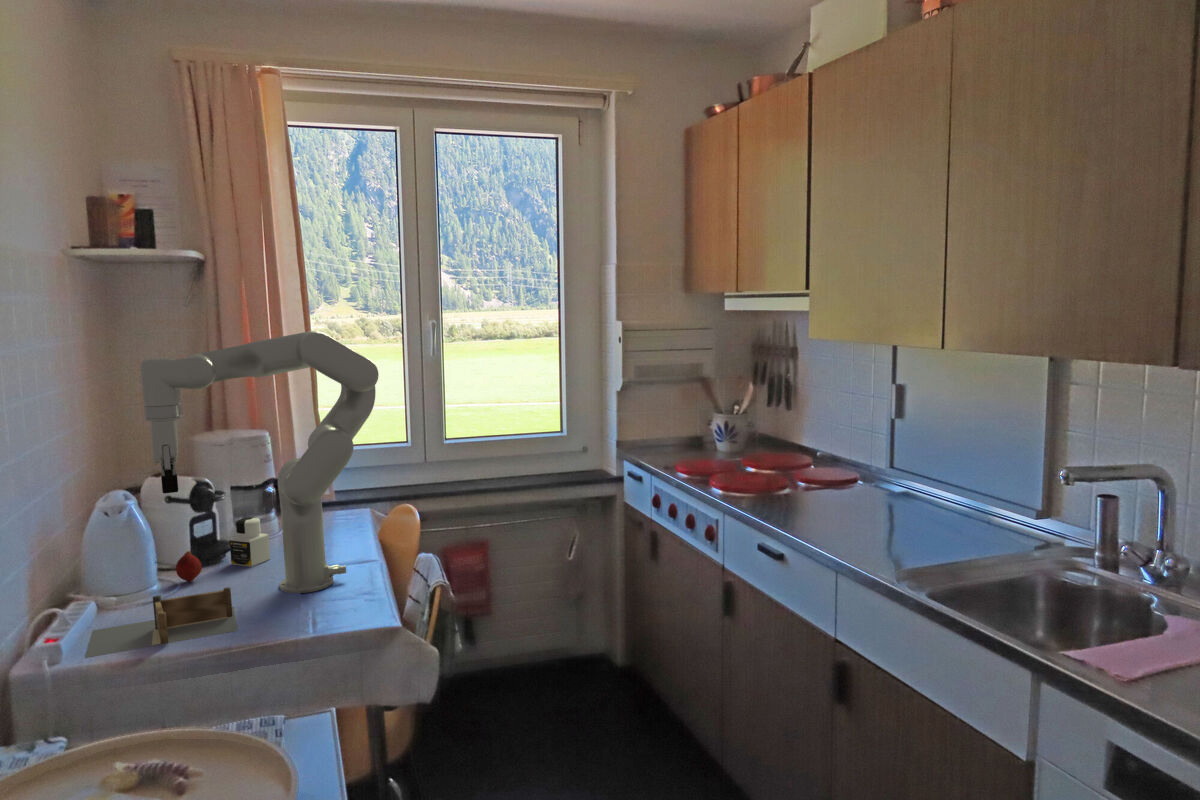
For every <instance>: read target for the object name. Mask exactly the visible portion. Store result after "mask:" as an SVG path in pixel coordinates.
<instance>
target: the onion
mask: <svg viewBox="0 0 1200 800" xmlns="http://www.w3.org/2000/svg"><path fill="white" fill-rule="evenodd" d="M175 571H176V575H177V577H179V578H180V579H181V580H183V581H185V582H188V583H191V582H193V581H194V579H196V578H197V577H198V576H199V575H200V574H201V572H202V562H201V560H200V559H199V558H198V557H197V556H196V555H193V554H192V552H191V551H190V550H187V551H185V553H184V555H182V556H181V557H180V558H179V560H178V561H177V563H176V565H175Z"/></svg>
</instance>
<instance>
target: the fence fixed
mask: <svg viewBox="0 0 1200 800" xmlns="http://www.w3.org/2000/svg"><path fill="white" fill-rule="evenodd" d="M155 602H161V605H162V608H163V612H165V613H166V621H167V627H172V626H178V625H184V624H190V623H195V622H201V621H207V620H213V619H219V618H225V617H232V616H233V613H232V607H233V604H232V591H231V587H228V586H227V587H224V588H223V590H216V591H210V592H202V593H196V594H191V595H185V596H178V597H172V598H171V597H170V598H165V599H162V596H161V595H154V596H152V606H153V616H154V617H153V618H154V620H155V629H158V628H157V618H156V608H155Z"/></svg>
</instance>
